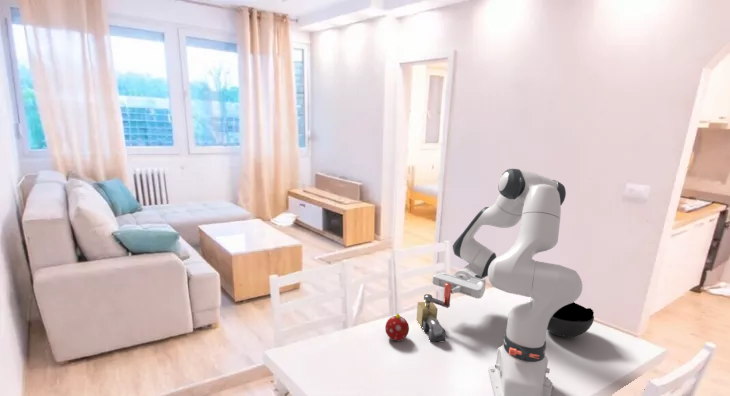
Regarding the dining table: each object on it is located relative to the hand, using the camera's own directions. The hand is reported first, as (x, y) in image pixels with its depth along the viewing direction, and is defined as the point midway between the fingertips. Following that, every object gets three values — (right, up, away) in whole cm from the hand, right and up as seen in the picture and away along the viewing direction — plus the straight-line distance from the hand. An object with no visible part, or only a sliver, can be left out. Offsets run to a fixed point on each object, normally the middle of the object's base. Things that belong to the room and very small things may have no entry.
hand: (449, 290), depth 143 cm
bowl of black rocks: (+44, -18, +5) cm, 48 cm away
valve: (-7, -16, +2) cm, 17 cm away
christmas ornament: (-20, -17, -4) cm, 27 cm away
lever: (-4, -6, +3) cm, 8 cm away
